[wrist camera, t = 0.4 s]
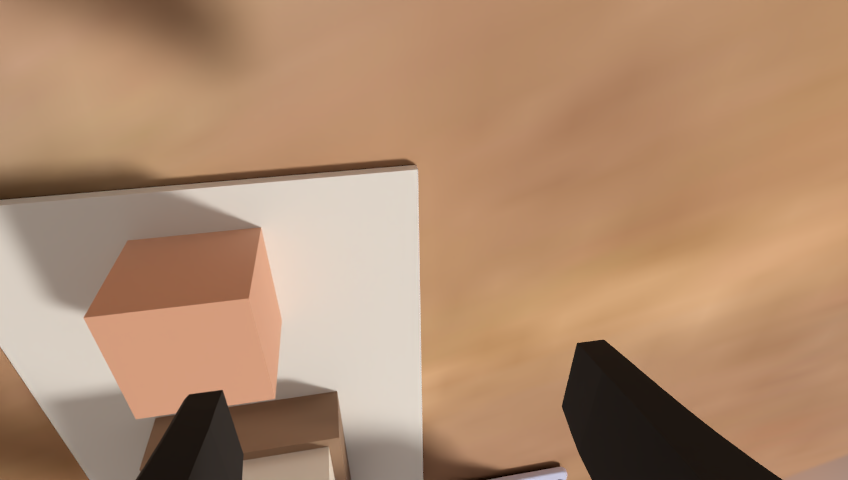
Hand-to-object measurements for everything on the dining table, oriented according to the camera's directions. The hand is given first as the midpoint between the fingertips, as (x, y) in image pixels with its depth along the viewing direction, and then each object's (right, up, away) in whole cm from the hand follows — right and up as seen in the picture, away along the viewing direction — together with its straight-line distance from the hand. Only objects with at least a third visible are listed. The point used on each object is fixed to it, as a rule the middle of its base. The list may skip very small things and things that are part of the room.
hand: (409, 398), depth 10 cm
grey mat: (-8, -3, +12) cm, 15 cm away
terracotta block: (-8, +2, +9) cm, 12 cm away
